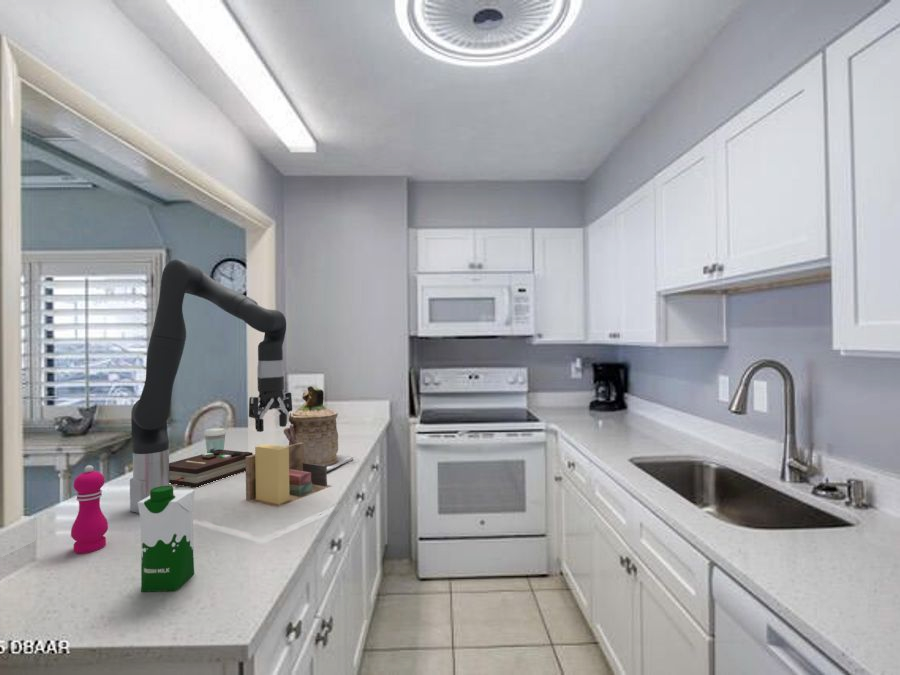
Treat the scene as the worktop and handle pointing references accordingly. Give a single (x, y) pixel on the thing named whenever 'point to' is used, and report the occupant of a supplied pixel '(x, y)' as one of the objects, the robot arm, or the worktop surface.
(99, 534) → the pepper mill
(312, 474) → the shelf
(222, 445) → the coffee cup
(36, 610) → the worktop surface
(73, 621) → the worktop surface
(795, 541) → the worktop surface
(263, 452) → the ochre book
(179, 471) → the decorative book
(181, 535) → the milk carton
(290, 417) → the cookie jar
